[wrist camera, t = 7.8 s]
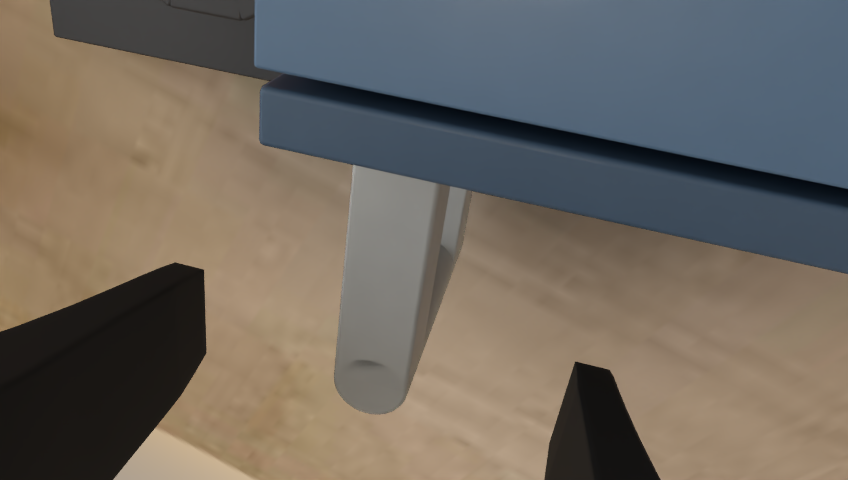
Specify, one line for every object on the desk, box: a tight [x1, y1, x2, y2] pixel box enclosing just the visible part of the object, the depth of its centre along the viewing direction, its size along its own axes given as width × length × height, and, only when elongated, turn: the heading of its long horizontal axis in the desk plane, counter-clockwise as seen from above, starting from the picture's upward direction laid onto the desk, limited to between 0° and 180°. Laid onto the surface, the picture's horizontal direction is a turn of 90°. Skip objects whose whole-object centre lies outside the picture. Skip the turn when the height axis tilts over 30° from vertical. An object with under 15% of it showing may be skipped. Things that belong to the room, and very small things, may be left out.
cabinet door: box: [259, 73, 848, 414], centre depth 13 cm, size 6×14×9 cm, turn 83°
